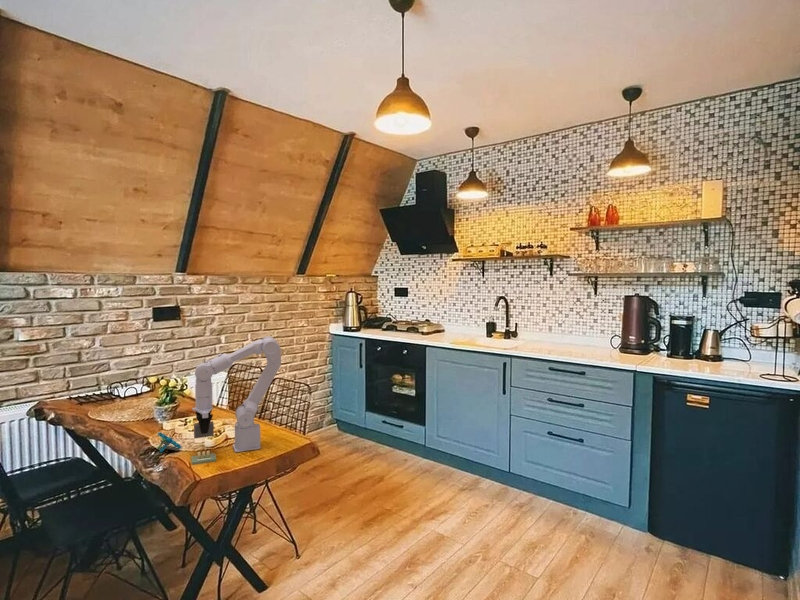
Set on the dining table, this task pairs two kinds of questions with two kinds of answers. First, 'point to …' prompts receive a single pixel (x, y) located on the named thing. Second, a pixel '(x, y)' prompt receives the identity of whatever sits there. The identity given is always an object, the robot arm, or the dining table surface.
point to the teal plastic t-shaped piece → (167, 442)
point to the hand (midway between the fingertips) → (204, 431)
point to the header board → (203, 458)
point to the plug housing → (198, 432)
